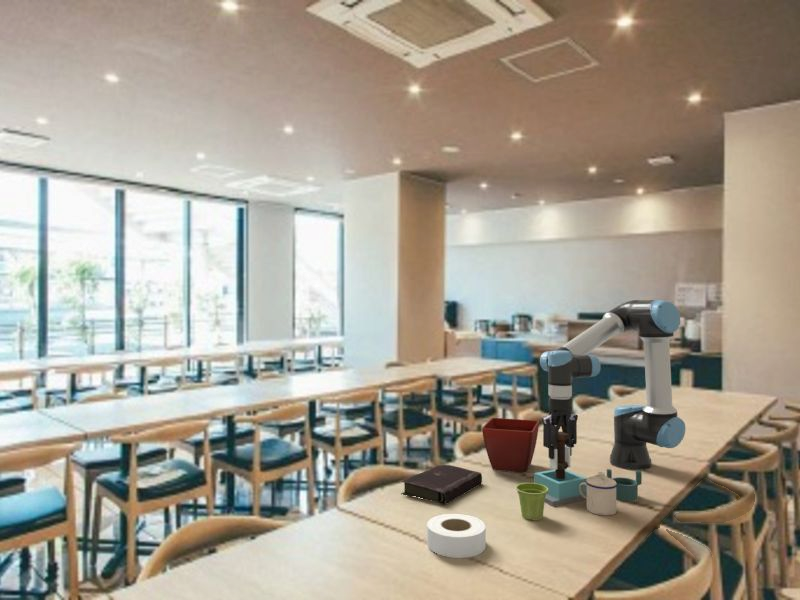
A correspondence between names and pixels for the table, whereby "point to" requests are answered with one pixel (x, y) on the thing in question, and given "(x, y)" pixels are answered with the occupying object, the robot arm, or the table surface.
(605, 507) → the teacup with lid
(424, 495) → the diary
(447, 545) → the roll of tape
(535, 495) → the plant pot
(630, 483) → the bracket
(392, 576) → the table surface
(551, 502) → the socket
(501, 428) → the plant pot
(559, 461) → the bolt
